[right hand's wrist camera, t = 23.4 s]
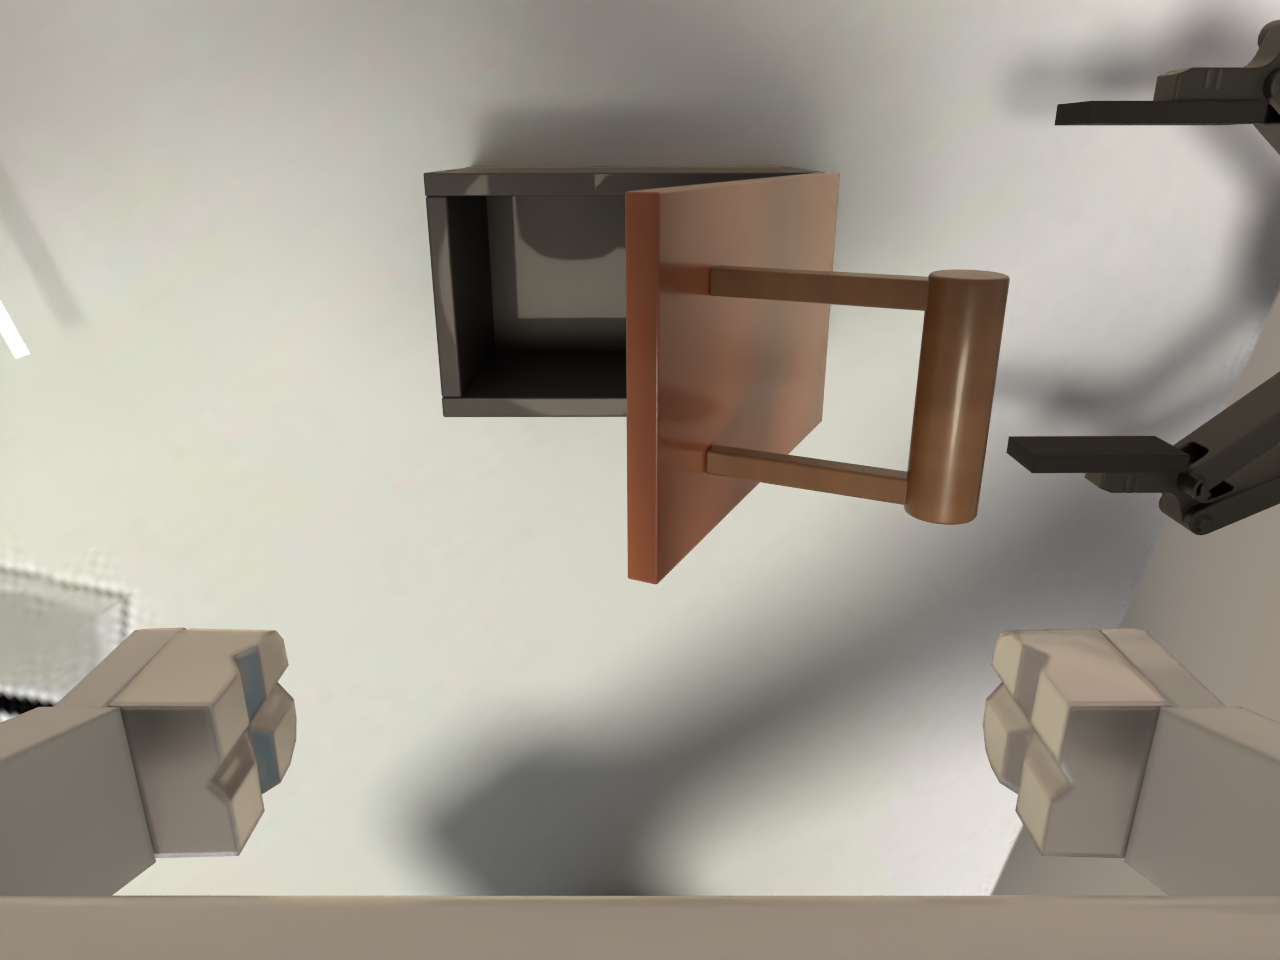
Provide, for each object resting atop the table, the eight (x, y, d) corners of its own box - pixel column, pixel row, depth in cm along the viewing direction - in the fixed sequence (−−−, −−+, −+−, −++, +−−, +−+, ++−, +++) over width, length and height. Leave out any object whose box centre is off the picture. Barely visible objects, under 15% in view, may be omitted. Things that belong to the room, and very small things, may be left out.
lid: (626, 578, 23) (947, 648, 20) (624, 191, 20) (1007, 199, 17) (801, 418, 37) (1009, 444, 34) (817, 172, 34) (1049, 174, 30)
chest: (482, 362, 47) (442, 417, 37) (470, 166, 43) (422, 172, 34) (775, 362, 47) (810, 417, 37) (785, 166, 43) (826, 172, 34)
